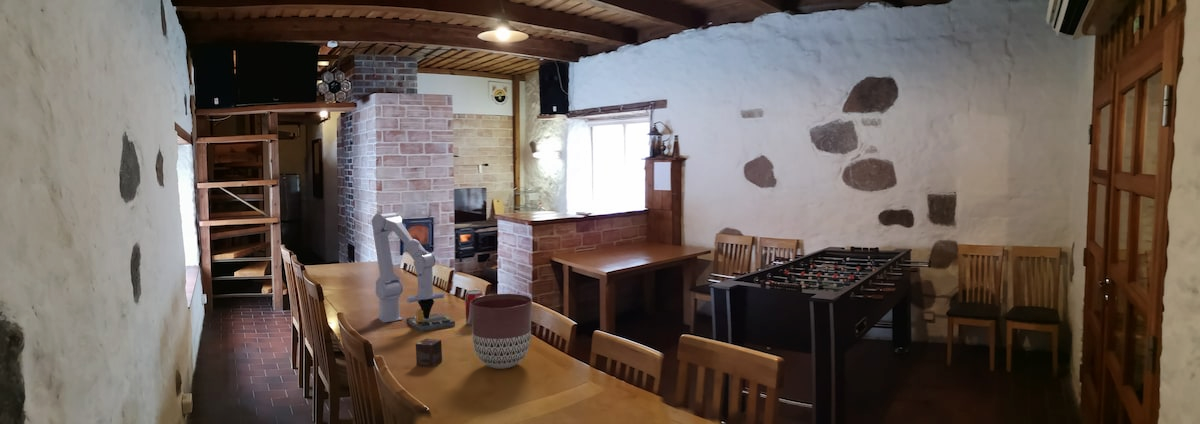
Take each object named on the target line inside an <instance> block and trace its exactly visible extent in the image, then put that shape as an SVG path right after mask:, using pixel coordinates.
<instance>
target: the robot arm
mask: <svg viewBox="0 0 1200 424" xmlns="http://www.w3.org/2000/svg"><path fill="white" fill-rule="evenodd" d="M371 225H372V226H371V227H372V232H373V233H372V235H373V239H374V246H375V251H376V252H375V253H376V258H377V264H378V270H379V277H378V278H377V280H375V294H376V297H377V298H378V300H379V301H378V307H379V308H378V310H379V312H378V313H379V316H376V318H377V319H378V320H379V321H380V322H382V323H389V322H397V321H402V320H403V317H401V316H400V298H401V295H402V294H403V291H404V287H403V283H402V281H401V278H400V276H399V275H397V274H396V273H395V270H394V265H393V258H392V252H391V247H390V240H389V235H390V234H391V233H392V232H394V234H395V235H396V237H397V236H398V238H399V239H400V240H401V241H402V242H403V244H404V245H405V246H404V249H405V250H406V252H407V253H408V254H409V256H410V257H411V258H412V260H413V266H414V268H415V272H416V274H417V295H412V296H407V297H406V303H407V304H411V303H418V305H419V307H420V309H422V310H423V316H424V318H425V319H429V315H431V310H432V308H433V306H434V303H435V300H436V299H437V300H439V299H445V293H444V292H434V285H433V284H434V282H433V281H434V277H433V276H434V275H433V267H434V266H435V265H436V257H435V256H434V253H432V252H429V251H428V250H426V249H425V248H424V246H422V244H421V242H420V241H419V240H418V239H415V238H413V237H412V235H411V233H409V231H408V230H407V228H406V227H405V226H404V224H403V218H402V217H401V216H400V214H399V212H397V211H392V212H383V213H375V214H374V215H373V217H372V219H371Z"/></svg>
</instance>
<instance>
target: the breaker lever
mask: <svg viewBox="0 0 1200 424" xmlns="http://www.w3.org/2000/svg"><path fill="white" fill-rule="evenodd" d="M415 316H416V321H417V322H423V316H424V315H423V310H422V309H421V308H418V309H415Z"/></svg>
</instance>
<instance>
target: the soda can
mask: <svg viewBox="0 0 1200 424" xmlns="http://www.w3.org/2000/svg"><path fill="white" fill-rule="evenodd" d="M465 293H466V294H465V296H464V297H465V299H464V301H465V304H464V305H465V323H466V324H467V325H468V326H472V324H471V312H470V301H471V300H473V299H475V298H477V297H481V296H484V294H483V291H482V290H479V289H478V290H477V289H472V290H468V291H466V292H465Z"/></svg>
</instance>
